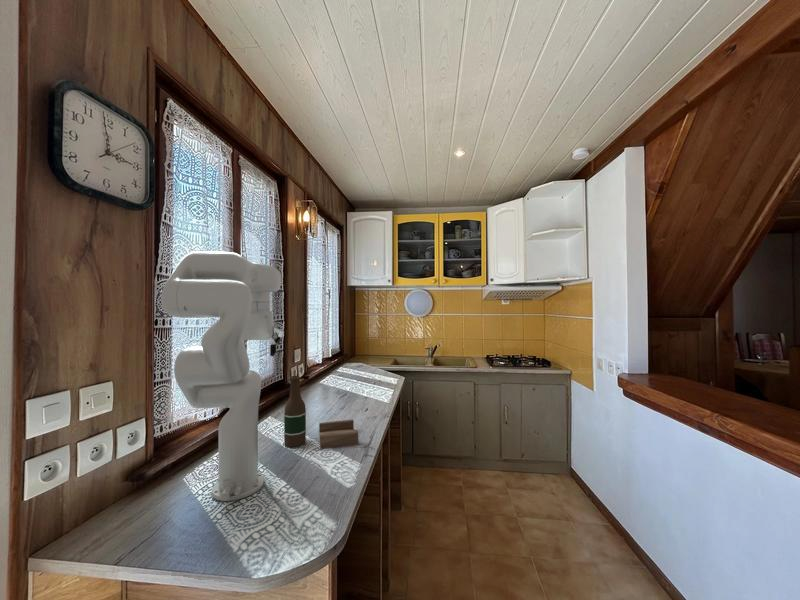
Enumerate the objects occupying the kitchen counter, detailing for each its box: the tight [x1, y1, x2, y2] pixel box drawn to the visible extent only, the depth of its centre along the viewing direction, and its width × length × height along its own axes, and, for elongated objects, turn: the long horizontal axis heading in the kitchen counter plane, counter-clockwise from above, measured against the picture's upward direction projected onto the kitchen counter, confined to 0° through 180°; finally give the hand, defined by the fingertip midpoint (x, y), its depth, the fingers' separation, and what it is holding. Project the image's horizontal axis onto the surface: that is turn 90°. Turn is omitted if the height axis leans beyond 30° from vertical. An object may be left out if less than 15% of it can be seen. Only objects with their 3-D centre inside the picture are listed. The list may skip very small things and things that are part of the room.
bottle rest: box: [318, 419, 359, 450], centre depth 118 cm, size 14×13×4 cm
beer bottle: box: [283, 374, 307, 449], centre depth 114 cm, size 8×8×24 cm
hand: (258, 356), depth 112 cm, fingers open, 9 cm apart
